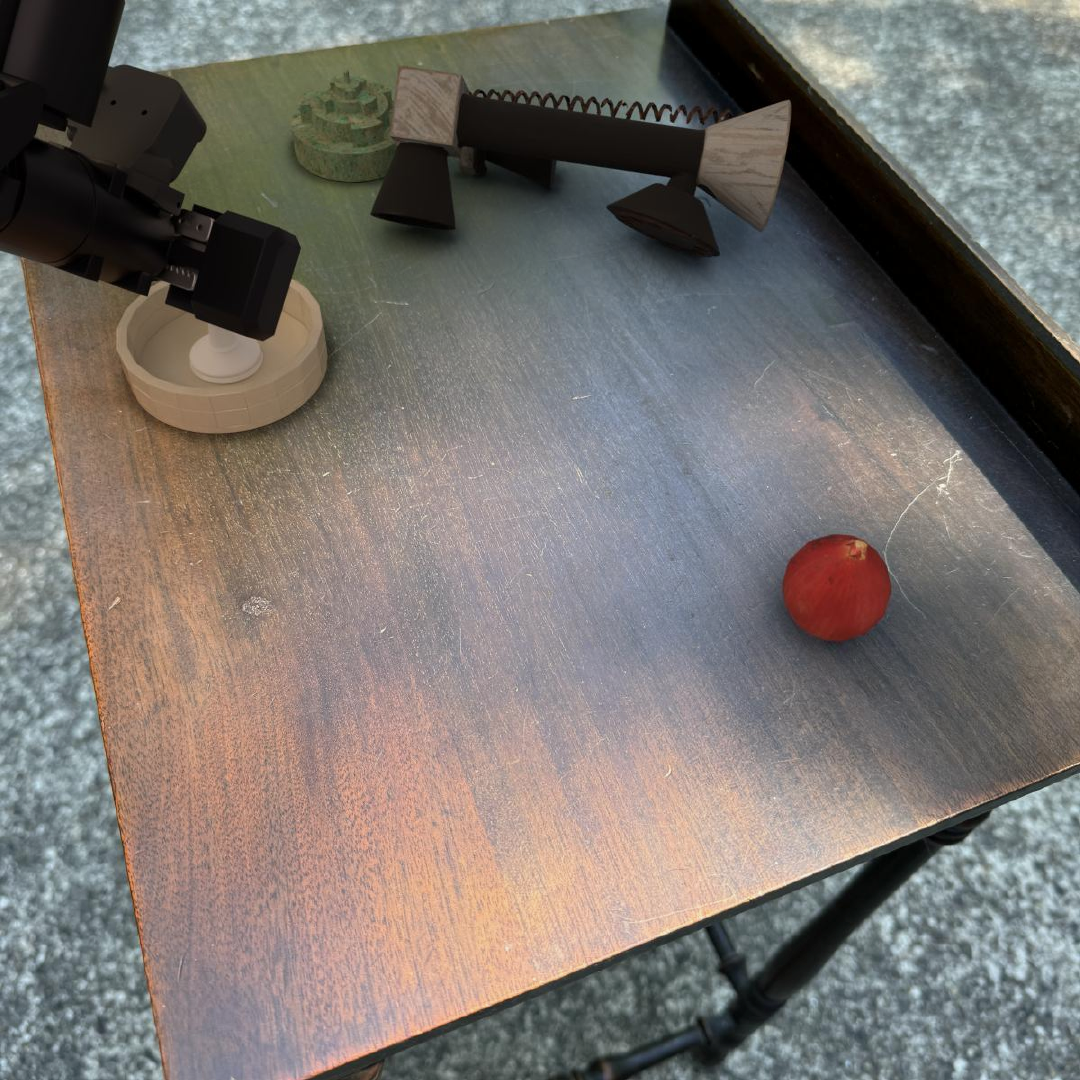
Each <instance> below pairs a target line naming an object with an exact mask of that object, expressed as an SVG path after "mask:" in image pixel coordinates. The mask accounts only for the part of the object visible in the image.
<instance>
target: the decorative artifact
mask: <svg viewBox="0 0 1080 1080" xmlns="http://www.w3.org/2000/svg"><path fill="white" fill-rule="evenodd" d="M342 73H343V76H341V77H340V76H339V77H336V76H334V77H333V78H331V80H330V82H329V86H328V87H324V88H322V89H321V90H316V89H312V88H309V89H307V90H306V91H304V93H303V94H302V95H301V98H300V99H299V102H298V103H299V105H298V106H299V108H297V110H296V111H295V112H294V114H293V116H292V118H291V122H290V123H291V125H290V126H291V133H292V138H293V139H292V140H293V145H294V152H295V157H296V160H297V161H298V163H299V164H300V165H301V167H303V168H304V169H305V170H307V171H308V172H309V173H311V174H313V175H315V176H316V177H320V178H323V179H326V180H330V181H335V182H343V183H360V182H369V181H375V180H378V179H382V178H385V176H386V174H387V171H388V169H389V167H390V164H391V162H392V159H393V157H394V154H395V152H396V148H397V145H396V142H395V141H394V139H392V138H391V137H390V132H391V124H392V115H393V107H394V100H393V96H392V95H393V94H392V90H391V89H390V88H389V87H387V86H386V85H383V84H381V83H379V82H375V81H373V80H368V79H366V78H363V77H361V76H350V70H348V69H343V70H342Z"/></svg>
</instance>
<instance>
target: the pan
mask: <svg viewBox="0 0 1080 1080" xmlns="http://www.w3.org/2000/svg"><path fill="white" fill-rule="evenodd" d="M169 287H170V283H167V282H164V281H158V282H157V283H155V284H154V285H151V287H150V291H149V294H148V297H146V296H143V295H140V294H139V295H138V297H136V298H135V299H134V301H132V302H131V303H130V304H128V306H127V307H126V308H125V310H124V312H123V315H122V316H121V318H120V320H119V322H118V323H117V326H116V329H115V330H116V331H115V332H116V333H115V334H116V336H115V337H116V339H115V350H116V352H117V355H118V358H119V360H120V364H121V367H122V369H123V372H124V375H125V377H126V380H127V383H128V385H129V386H130V389H131V391H132V394H133V396H134V397H135V399H136V401H137V402H138V404H139V405H140V406H141V407H142V409H143V410H144V411H146V412H147V413H148V414H149V415H150V416H152V417H153V418H155V419H157V420H158V421H159V422H162V423H164V424H166V425H168V426H170V427H174V428H176V429H179V430H183V431H188V432H193V433H199V434H209V435H210V434H212V435H213V434H218V435H219V434H232V433H240V432H241V433H242V432H247V431H252V430H254V429H258V428H261V427H264V426H265V427H266V426H267V425H270V424H273V423H275V422H278V421H279V420H281V419H284V418H286V417H287V416H290V415H291V414H292V413H294V412H295V411H297V410H298V409H300V408H301V407H302V406H304V404H306V403H307V402H308V401H309V400H310V399H311V398H312V397H313V396H314V395H315V394H316V392H317V390H318V389H319V388H320V386H321V384H322V382H323V380H324V378H325V375H326V372H327V369H328V348H327V342H326V335H325V329H324V321H323V316H322V310H321V306H320V304H319V302H318V301H317V299H316V298H315V297H314V296H313V294H312V293H311V292H310V290H309V289H308V288H307V287H306V286H304V284H301V283H300V282H299V281H297V280H295V279H293V278H292V280H291V283H290V286H289V289H288V293H287V296H286V299H285V302H284V306H283V309H282V312H281V315H280V319H279V322H278V325H277V328H276V332H275V335H274V336H272V337H270V338H269V339H267V340H265V341H259V340H257V341H258V343H259V345H260V348H261V350H262V352H263V362H262V364H261V366H260V368H259V369H258V370H257V371H256V372H255V373H254V374H253V375H251V376H249V377H248V378H246V379H243V380H241V381H238V382H233V383H226V384H219V383H211V382H207V381H205V380H202V379H200V378H199V377H197V376H196V375H195V374H194V373H193V371H192V370H191V367H190V359H189V354H190V350H191V348H192V346H193V345H194V344H195V343H196V342H197V341H198V340H199V339H200V338H202V337H204V336H205V335H208V334H209V331H208V323H206V322H204V321H201V320H198V319H196V318H195V315H194V314H191V313H188V312H186V311H183V310H180V309H178V308H175V307H172V306H169V305H167V304H165V300H166V297H167V293H168V290H169Z"/></svg>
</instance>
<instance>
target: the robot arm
mask: <svg viewBox="0 0 1080 1080" xmlns="http://www.w3.org/2000/svg"><path fill="white" fill-rule="evenodd" d="M125 7H126V0H0V252H3V253H6V254H10V255H12V256H15V257H16V256H17V257H20V258H23V259H27V260H30V261H32V262H33V261H34V262H36V263H40V264H43V265H47V266H50V267H52V268H54V269H57V270H61V271H62V272H63V271H64V272H66V273H68V274H72V275H74V276H76V277H80V278H83V279H85V280H89V281H92V282H96V283H99V282H100V281H101V282H103V283H105V284H106V283H107V284H109V285H111V286H115V287H117V288H120V289H122V290H125V291H128V292H130V293H134V294H137V295H139V296H140V295H143V296H146V297H148V294H149V291H150V287H152V285H153V284H152V283H153V282H154V283H155V282H161V281H164V282H167V283H170V287H169V290H168V293H167V297H166V300H165V304H167V305H169V306H172V307H175V308H178V309H180V310H183V311H186V312H188V313H191V314H194V315H195V318H196V319H198V320H201V321H204V322H206V323H209V324H212V325H215V326H217V327H220V328H223V329H226V330H228V331H231V332H234V333H237V334H239V335H242V336H245V337H248V338H252V339H255V340H259V341H265V340H267V339H269V338H270V337H272V336H274V335H275V332H276V328H277V325H278V322H279V319H280V315H281V312H282V309H283V306H284V302H285V299H286V296H287V293H288V289H289V286H290V283H291V280H292V279H293V277H294V273H295V270H296V266H297V263H298V260H299V258H300V253H301V250H302V246H301V244H300V242H299V239H298V237H297V235H296V234H294V233H292V232H289V231H287V230H285V229H284V228H281V227H280V226H277V225H273V224H271V223H268V222H265V221H262V220H259V219H256V218H252V217H250V216H247V215H244V214H240V213H237V212H235V211H231V210H229V209H227V210H226V211H225V212H220V211H217V210H214V209H211V208H208V207H207V206H202V205H200V204H196V203H193V204H192V209H191V210H190V209H187V208H182V207H183V203H184V200H185V196H186V193H184V192H182V191H180V190H178V189H175V188H174V187H171V186H170V185H171V184H172V183H173V182H175V181H176V180H177V179H178V178H179V176H180V174H181V173H182V171H183V169H184V167H185V166H186V164H187V162H188V161H189V159H190V157H191V155H192V154H193V152H194V150H195V149H196V146H197V145H198V143H201V142H202V141H203V139H204V138H205V136H206V134H207V131H208V128H207V127H208V125H207V123H206V121H205V119H204V118H203V116H202V115H201V113H200V112H199V110H198V109H197V107H196V106H195V104H194V103H193V102H192V100H191V98H190V97H189V95H188V94H187V92H186V91H185V89H184V88H183V86H182V85H181V83H180V82H179V80H177V79H175V78H172V77H169V76H166V75H162V74H159V73H156V72H153V71H150V70H146V69H144V68H139V67H136V66H133V65H130V64H118V65H115V66H111V65H110V61H111V58H112V53H113V51H114V46H115V43H116V40H117V36H118V33H119V29H120V24H121V22H122V17H123V14H124V10H125ZM39 125H40V126H42V127H43V126H44V127H46V128H49V129H51V130H56V131H59V132H62V133H65V132H66V138H67V140H68V141H69V142H71V143H70V145H69V147H68V146H66V145H63V144H60V143H57V142H54V141H50V140H48V141H46V140H43V139H41V138H39V137H37V136H36V135H37V132H38V128H39Z"/></svg>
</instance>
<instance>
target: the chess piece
mask: <svg viewBox="0 0 1080 1080" xmlns="http://www.w3.org/2000/svg"><path fill="white" fill-rule="evenodd" d="M208 331H209V334H208V335H205V336H204V337H202V338H200V339H199V340H198V341H197V342H196V343H195V344H194V345H193V346H192V348H191V350H190V354H189V359H190V367H191V370H192V371H193V373H194V374H195V375H196V376H197V377H199V378H200V379H202V380H205V381H207V382H211V383H219V384H226V383H233V382H238V381H241V380H243V379H246V378H248V377H249V376H251V375H253V374H254V373H255V372H256V371H257V370H258V369H259V368H260V366H261V364H262V362H263V352H262V350H261V348H260V345H259V343H258V341H257V340H255V339H252V338H248V337H245V336H242V335H239V334H237V333H234V332H231V331H228V330H226V329H223V328H220V327H217V326H215V325H212V324H209V323H208Z"/></svg>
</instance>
